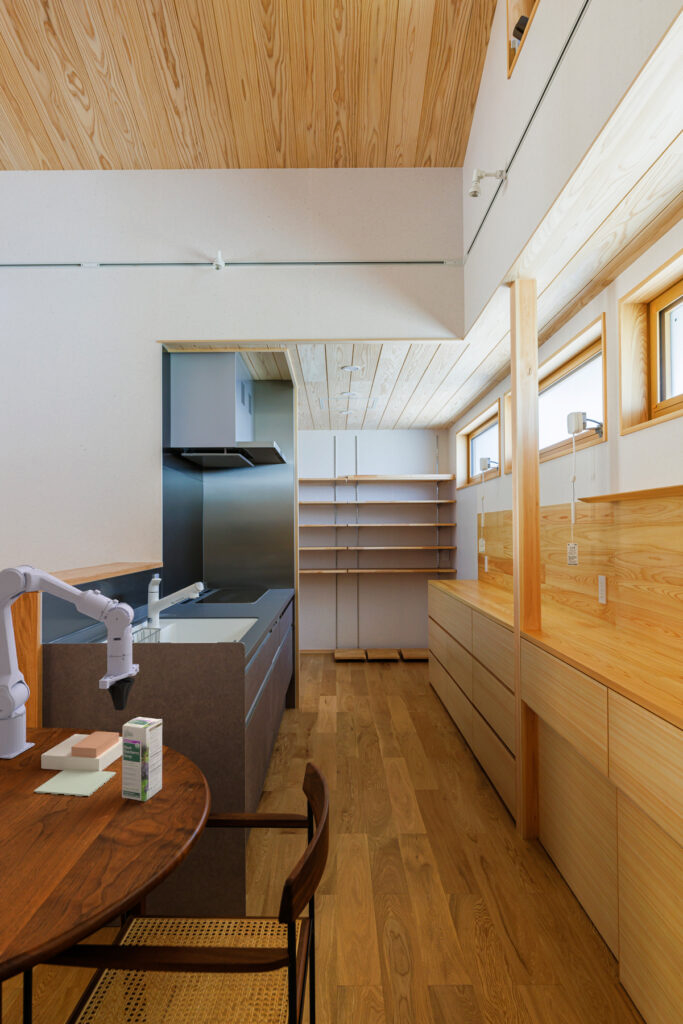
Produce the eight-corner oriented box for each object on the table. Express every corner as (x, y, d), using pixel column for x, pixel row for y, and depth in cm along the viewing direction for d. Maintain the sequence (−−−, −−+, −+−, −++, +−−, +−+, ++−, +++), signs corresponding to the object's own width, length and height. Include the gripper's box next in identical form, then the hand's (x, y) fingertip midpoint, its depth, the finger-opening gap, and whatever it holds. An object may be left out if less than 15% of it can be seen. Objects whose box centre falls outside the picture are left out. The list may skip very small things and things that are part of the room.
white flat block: (41, 768, 124) (41, 754, 124) (75, 746, 136) (75, 734, 136) (99, 772, 122) (99, 758, 122) (128, 749, 134) (128, 737, 134)
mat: (33, 792, 113) (33, 790, 113) (65, 770, 123) (65, 768, 123) (88, 797, 111) (88, 795, 111) (116, 774, 121) (116, 772, 121)
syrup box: (120, 798, 111) (120, 725, 111) (139, 784, 116) (139, 714, 116) (145, 802, 109) (145, 728, 109) (163, 788, 115) (163, 717, 115)
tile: (71, 755, 123) (71, 746, 123) (95, 739, 132) (95, 731, 132) (96, 757, 122) (96, 748, 122) (119, 741, 131) (118, 732, 131)
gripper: (118, 662, 129) (118, 720, 129) (149, 647, 144) (150, 700, 144) (90, 661, 131) (91, 719, 131) (124, 646, 145) (124, 699, 145)
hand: (120, 709), depth 137 cm, fingers closed
